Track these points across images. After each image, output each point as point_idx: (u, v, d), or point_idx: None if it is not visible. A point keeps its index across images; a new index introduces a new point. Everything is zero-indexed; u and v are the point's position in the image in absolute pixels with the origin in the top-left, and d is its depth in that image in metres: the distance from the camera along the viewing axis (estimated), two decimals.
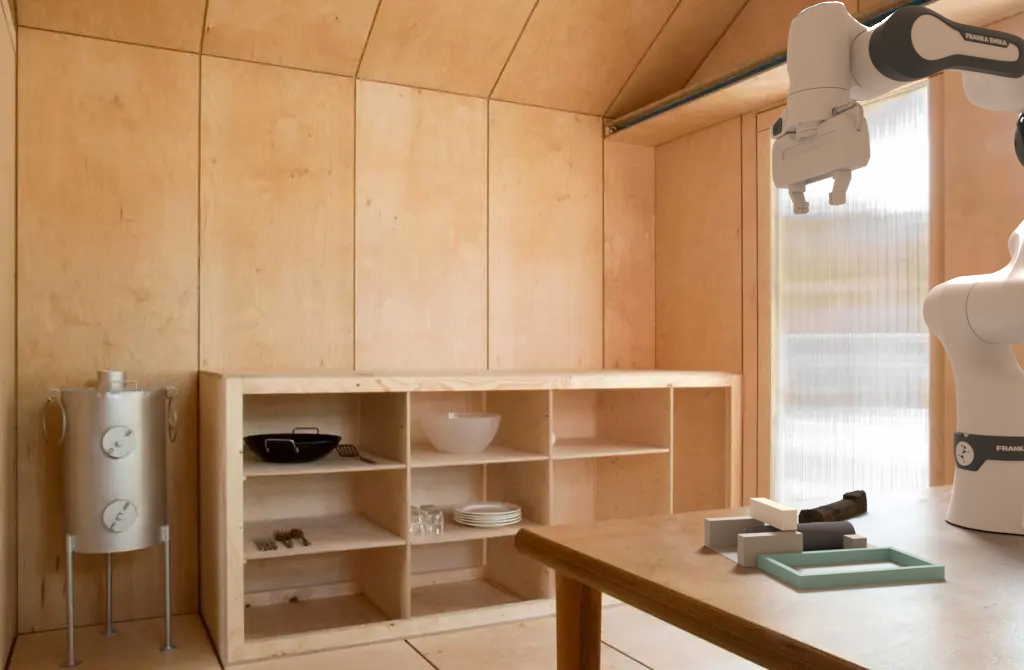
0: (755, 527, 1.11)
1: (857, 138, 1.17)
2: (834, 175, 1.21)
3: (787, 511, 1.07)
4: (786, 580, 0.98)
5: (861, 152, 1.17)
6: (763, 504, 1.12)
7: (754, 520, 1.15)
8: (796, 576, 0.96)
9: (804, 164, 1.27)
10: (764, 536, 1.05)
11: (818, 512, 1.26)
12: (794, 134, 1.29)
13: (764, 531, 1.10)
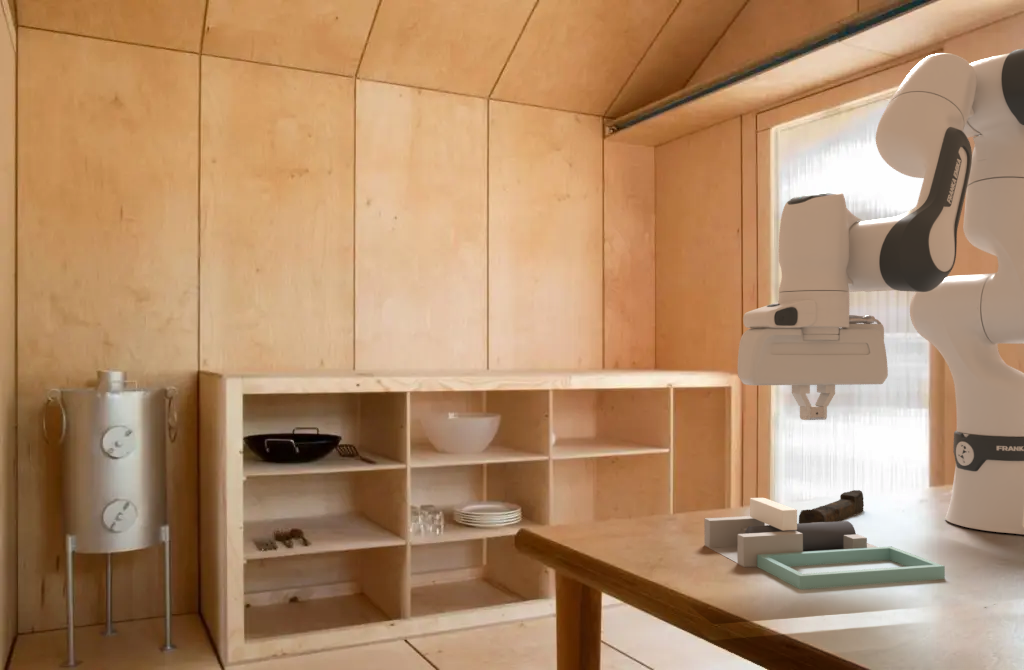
0: (755, 527, 1.11)
1: None
2: (829, 389, 1.12)
3: (787, 511, 1.07)
4: (786, 580, 0.98)
5: None
6: (763, 504, 1.12)
7: (754, 520, 1.15)
8: (796, 576, 0.96)
9: (815, 368, 1.11)
10: (764, 536, 1.05)
11: (819, 512, 1.26)
12: (800, 330, 1.10)
13: (764, 531, 1.10)
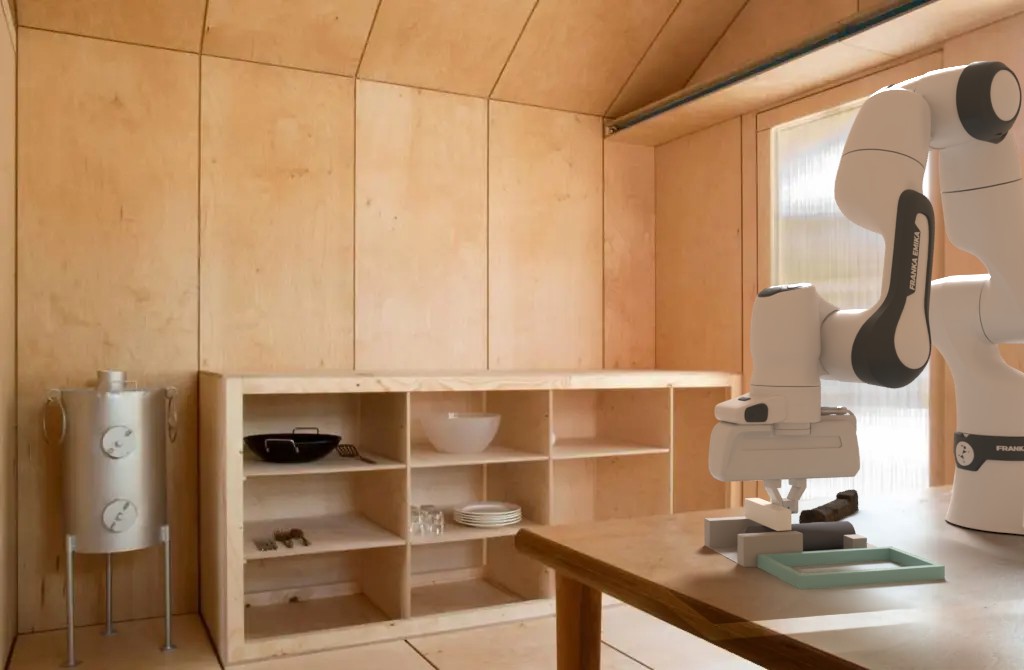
0: (755, 527, 1.11)
1: None
2: (800, 483, 1.11)
3: (781, 511, 1.07)
4: (786, 580, 0.98)
5: None
6: (757, 504, 1.12)
7: None
8: (796, 576, 0.96)
9: (786, 463, 1.10)
10: (764, 536, 1.05)
11: (820, 512, 1.26)
12: (771, 425, 1.09)
13: (764, 531, 1.10)
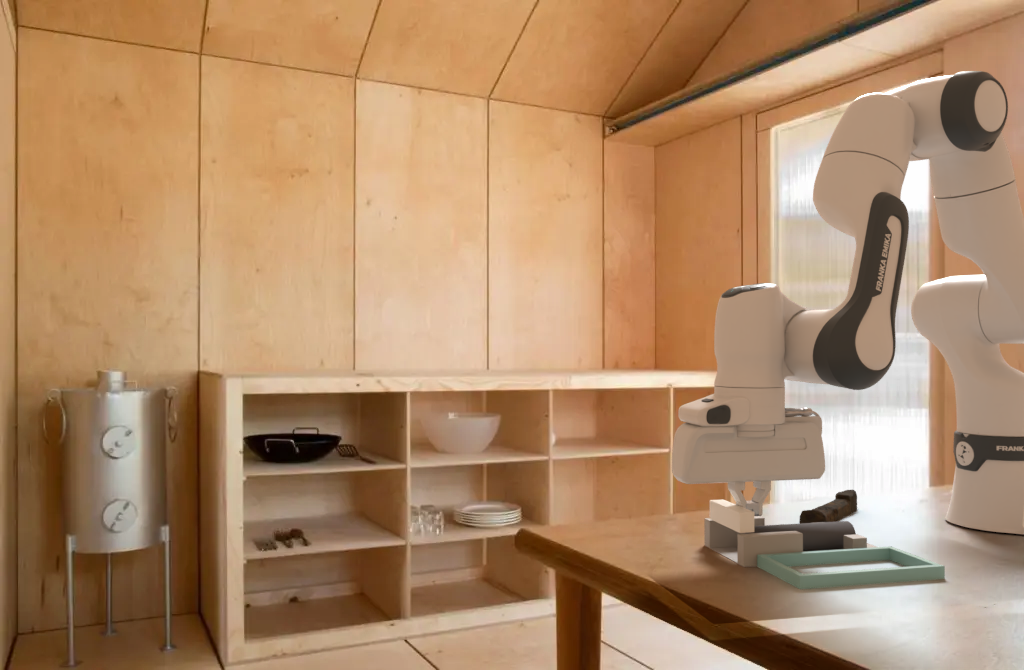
0: (755, 527, 1.11)
1: None
2: (764, 485, 1.10)
3: (744, 513, 1.06)
4: (786, 580, 0.98)
5: None
6: (722, 506, 1.11)
7: (754, 520, 1.15)
8: (796, 576, 0.96)
9: (750, 465, 1.09)
10: (764, 536, 1.05)
11: (820, 513, 1.26)
12: (734, 427, 1.08)
13: (764, 531, 1.10)
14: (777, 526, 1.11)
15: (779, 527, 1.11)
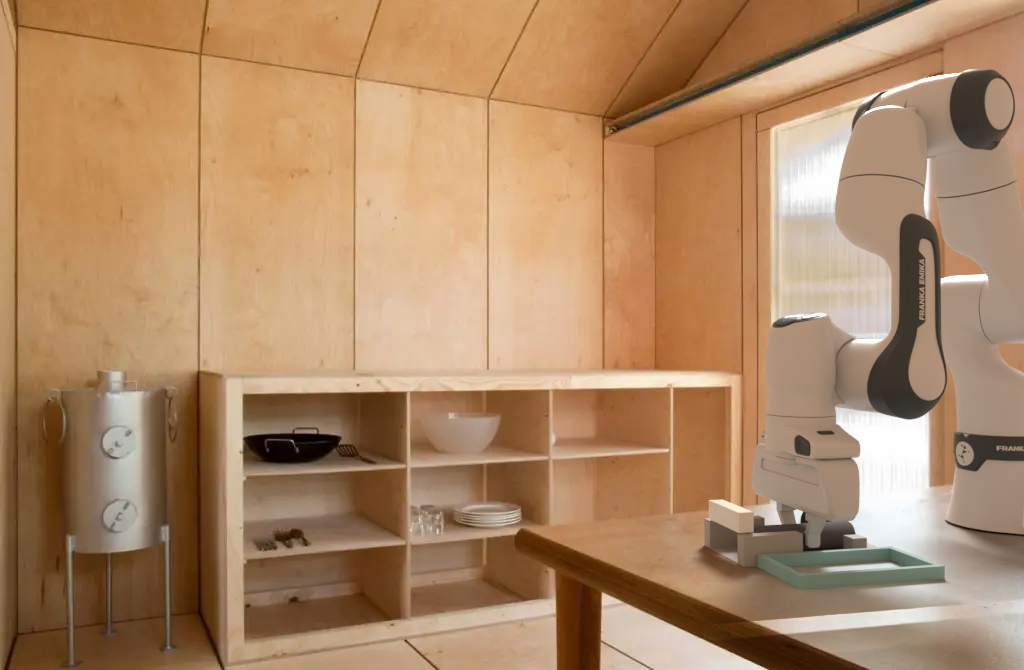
0: (755, 527, 1.11)
1: None
2: None
3: (743, 513, 1.06)
4: (786, 580, 0.98)
5: None
6: (721, 506, 1.11)
7: (754, 520, 1.15)
8: (796, 576, 0.96)
9: None
10: (764, 536, 1.05)
11: None
12: None
13: (764, 531, 1.10)
14: (777, 526, 1.11)
15: (779, 527, 1.11)
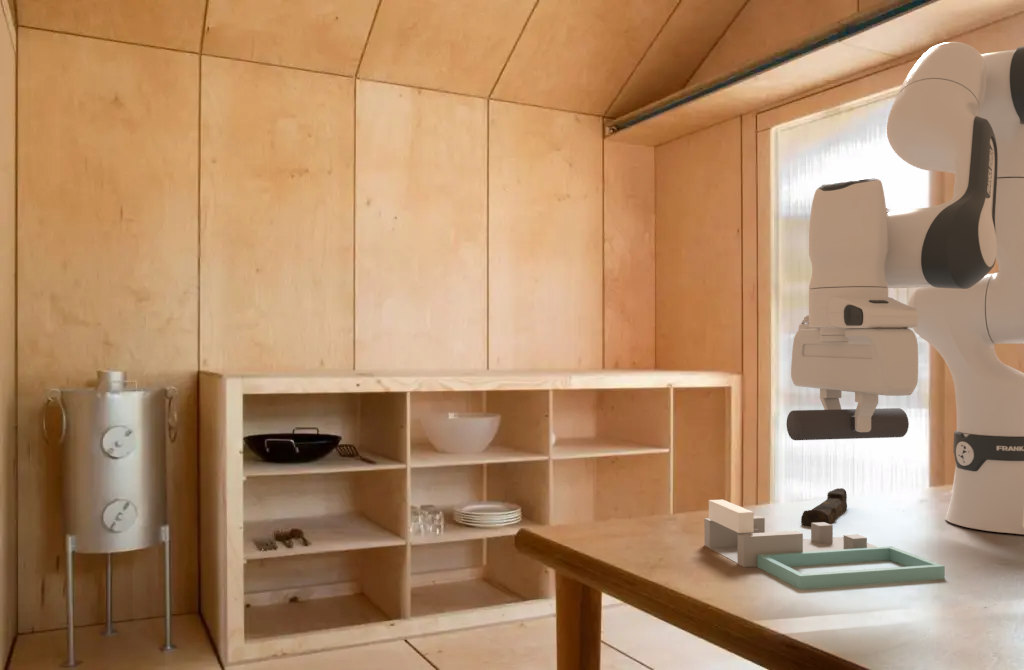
0: (798, 411, 1.00)
1: None
2: None
3: (743, 513, 1.06)
4: (786, 580, 0.98)
5: None
6: (721, 506, 1.11)
7: (754, 520, 1.15)
8: (796, 576, 0.96)
9: None
10: (764, 536, 1.05)
11: (823, 512, 1.26)
12: None
13: (808, 414, 1.00)
14: (822, 410, 1.01)
15: (825, 411, 1.01)
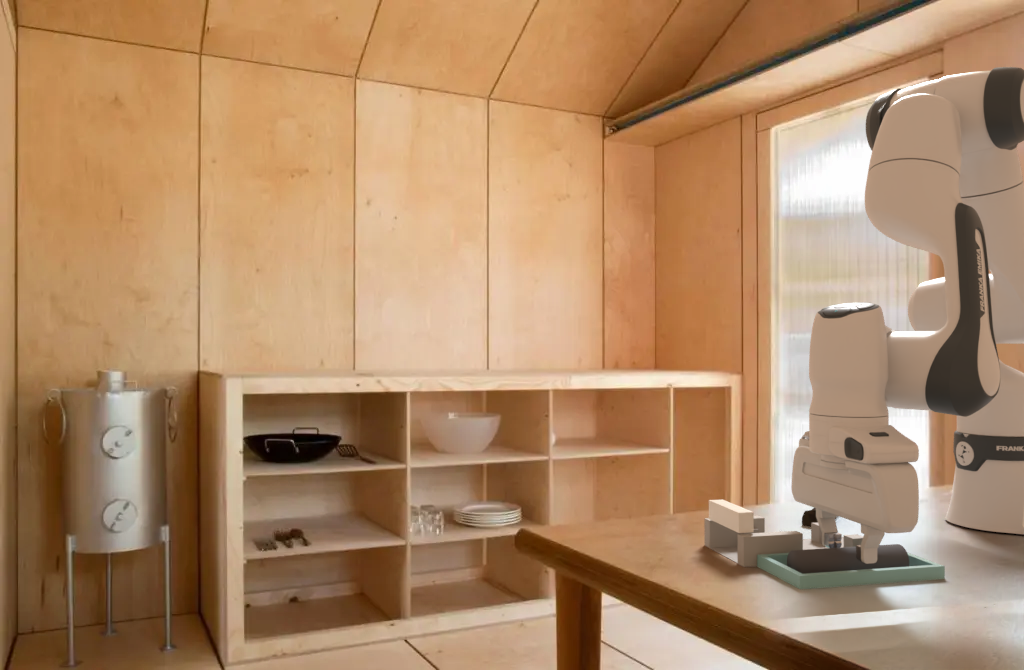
0: (798, 551, 1.01)
1: None
2: None
3: (743, 513, 1.06)
4: (786, 580, 0.98)
5: None
6: (721, 506, 1.11)
7: (754, 520, 1.15)
8: (796, 576, 0.96)
9: None
10: (764, 536, 1.05)
11: None
12: None
13: (809, 556, 1.00)
14: (822, 550, 1.01)
15: (825, 551, 1.01)
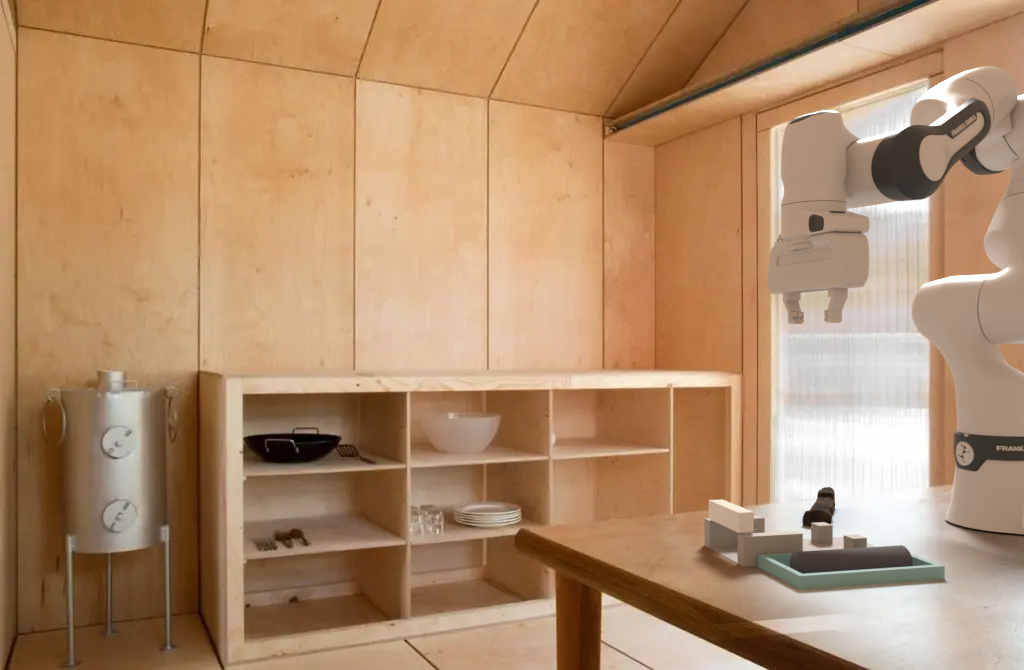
0: (804, 556, 0.99)
1: None
2: None
3: (743, 513, 1.06)
4: (786, 580, 0.98)
5: None
6: (721, 506, 1.11)
7: (754, 520, 1.15)
8: (796, 576, 0.96)
9: None
10: (764, 536, 1.05)
11: (825, 512, 1.26)
12: None
13: (813, 562, 0.99)
14: (828, 555, 1.00)
15: (830, 556, 1.00)
